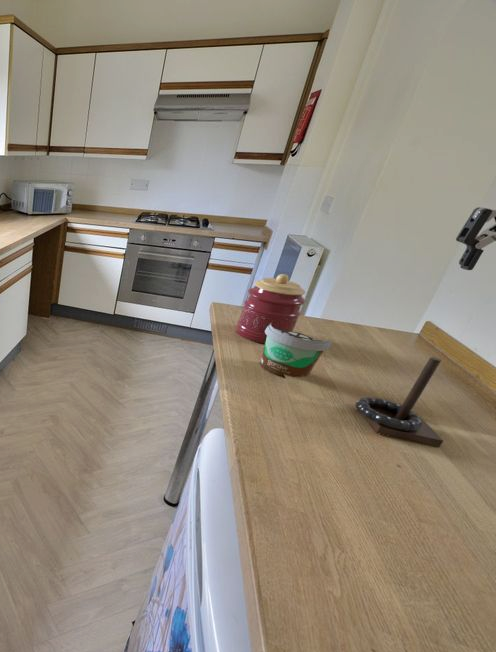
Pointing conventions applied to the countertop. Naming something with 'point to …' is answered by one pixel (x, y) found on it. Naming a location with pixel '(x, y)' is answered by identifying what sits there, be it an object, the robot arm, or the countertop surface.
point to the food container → (291, 352)
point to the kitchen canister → (270, 307)
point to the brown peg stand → (425, 432)
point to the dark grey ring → (406, 425)
